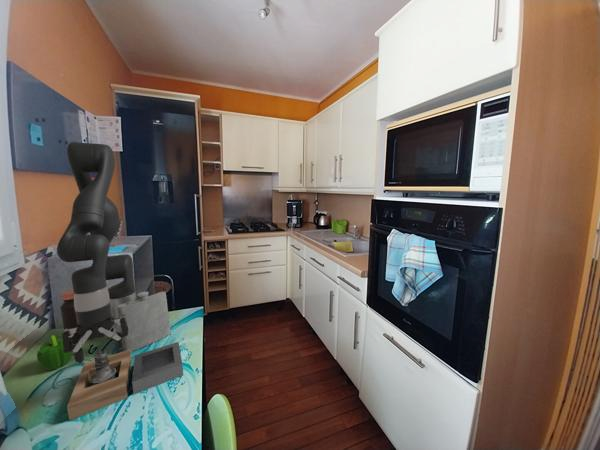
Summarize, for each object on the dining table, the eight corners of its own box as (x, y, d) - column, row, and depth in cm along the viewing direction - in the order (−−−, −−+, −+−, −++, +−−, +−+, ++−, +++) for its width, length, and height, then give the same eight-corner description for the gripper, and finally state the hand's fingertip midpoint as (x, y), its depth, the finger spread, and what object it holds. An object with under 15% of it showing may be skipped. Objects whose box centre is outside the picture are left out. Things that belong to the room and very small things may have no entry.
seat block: (136, 366, 78) (134, 355, 78) (179, 351, 85) (178, 341, 85) (133, 394, 67) (132, 382, 67) (183, 375, 74) (182, 363, 74)
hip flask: (168, 330, 98) (163, 285, 96) (172, 334, 95) (167, 287, 93) (122, 350, 86) (115, 299, 84) (125, 355, 83) (117, 302, 81)
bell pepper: (71, 367, 78) (66, 340, 77) (36, 378, 74) (30, 349, 72) (78, 352, 85) (74, 327, 84) (46, 361, 81) (41, 335, 79)
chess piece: (87, 396, 67) (81, 358, 65) (98, 380, 73) (93, 345, 71) (112, 391, 69) (106, 354, 67) (121, 376, 74) (116, 341, 72)
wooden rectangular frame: (86, 374, 75) (84, 363, 74) (131, 359, 81) (130, 349, 81) (69, 420, 60) (66, 406, 59) (127, 398, 66) (125, 385, 66)
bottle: (71, 336, 95) (63, 290, 92) (92, 332, 97) (85, 287, 95) (62, 346, 89) (53, 297, 86) (85, 341, 91) (77, 293, 88)
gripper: (125, 293, 74) (131, 340, 76) (62, 305, 66) (71, 357, 68) (122, 302, 67) (129, 353, 69) (53, 317, 60) (63, 374, 62)
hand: (100, 355), depth 69 cm, fingers open, 8 cm apart
